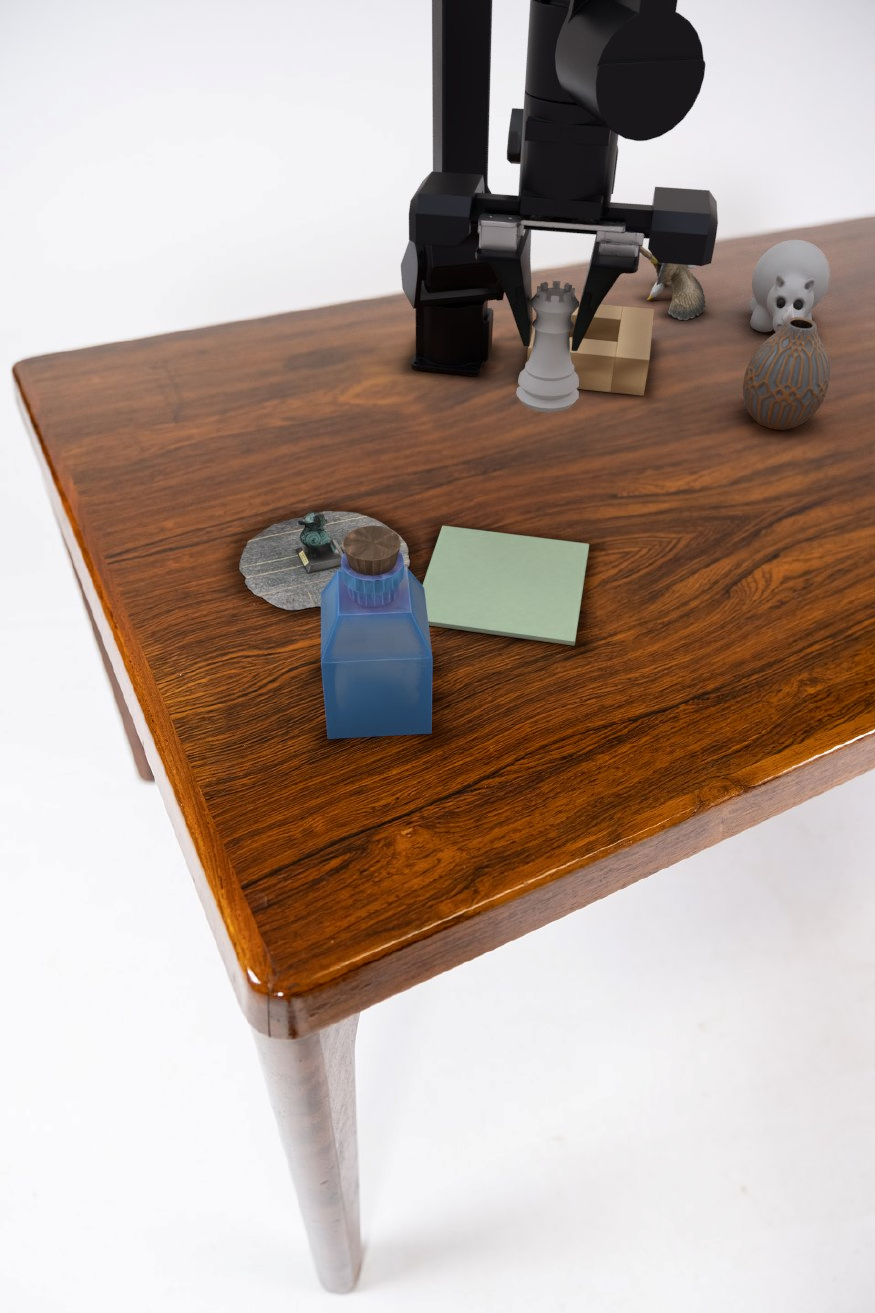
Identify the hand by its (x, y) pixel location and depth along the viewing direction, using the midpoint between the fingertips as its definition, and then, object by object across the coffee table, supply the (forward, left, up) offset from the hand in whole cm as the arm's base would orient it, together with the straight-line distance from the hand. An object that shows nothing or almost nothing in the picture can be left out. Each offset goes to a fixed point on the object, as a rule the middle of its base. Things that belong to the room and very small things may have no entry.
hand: (551, 346), depth 69 cm
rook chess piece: (0, 0, -4) cm, 4 cm away
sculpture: (-14, -10, -14) cm, 22 cm away
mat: (-1, -10, -13) cm, 17 cm away
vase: (+19, +18, -14) cm, 30 cm away
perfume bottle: (-7, -23, -14) cm, 27 cm away
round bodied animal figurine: (+20, +35, -14) cm, 42 cm away
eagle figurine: (+9, +41, -14) cm, 44 cm away
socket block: (+2, +25, -13) cm, 29 cm away
